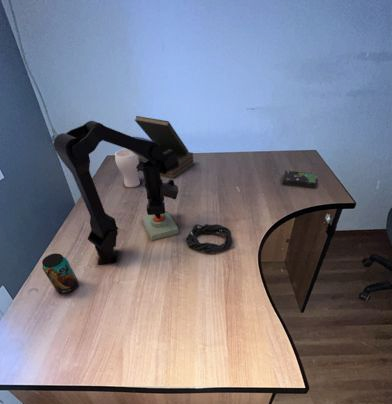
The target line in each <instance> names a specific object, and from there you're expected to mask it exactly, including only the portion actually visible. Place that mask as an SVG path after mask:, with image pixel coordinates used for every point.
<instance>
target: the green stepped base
mask: <svg viewBox="0 0 392 404" xmlns="http://www.w3.org/2000/svg"><path fill="white" fill-rule="evenodd" d="M160 215H162V216H163V217H164V220H163V221H162V222H155V221H154V217H155V215H148V214H147V215H145V216H141V219H142V220H141V221H142V223H143V225H144V227H145V229H146V231H147V234H148V236H149V238H150V240H151V241H155V240H159V239H162V238H167V237H170V236H173V235H178V234H180V230H179V227H178V226H177V224H176V222H175V221H174V219H173V217H172V216H171V214H170V212H169V211H168V210H165V213H164V214H160Z"/></svg>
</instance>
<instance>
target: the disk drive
mask: <svg viewBox="0 0 392 404" xmlns="http://www.w3.org/2000/svg"><path fill="white" fill-rule="evenodd" d="M281 184H282V185H284V186H294V187H302V188H315V187H316V184H317V174H316V173H313V172H303V171H294V170H285V171H284V175H283V179H282V183H281Z"/></svg>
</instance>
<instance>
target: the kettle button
mask: <svg viewBox="0 0 392 404" xmlns="http://www.w3.org/2000/svg"><path fill="white" fill-rule="evenodd" d="M163 220H164V217H163V216H162V215H160V218H157V217H156V216H155V217H154V221H155V222H162V221H163Z"/></svg>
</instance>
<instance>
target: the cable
mask: <svg viewBox="0 0 392 404" xmlns="http://www.w3.org/2000/svg"><path fill="white" fill-rule="evenodd" d="M200 233H201V234H205V235H211V234H214V235H223V236H224V242H223V243H221V244H217V243H211V242H207V241H206V242H205V241H204V242H200V241H199V240H198V238H197V237H196V236H197V235H198V234H200ZM185 242H186V244H187V247H191V248H193V249H194V250H198V251H201V252H202V253H205V254H211V253H218V252H221V251H224V250H226V249H230V248H231V247H232V245H233V236H232V231H231V230H230V229H229V228H228V227H227V226H223V225H221V224H218V223H217V224H208V223H205V224H203V225H200V223H199V224H198V223H196V224H194V225H193V226H192V229H191V231H190V232H189V234H188V235H187V237H186V238H185Z"/></svg>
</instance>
